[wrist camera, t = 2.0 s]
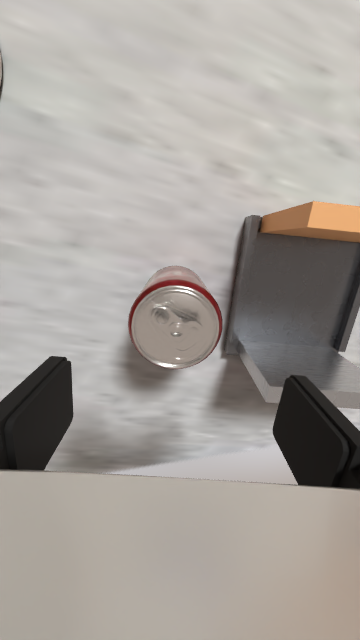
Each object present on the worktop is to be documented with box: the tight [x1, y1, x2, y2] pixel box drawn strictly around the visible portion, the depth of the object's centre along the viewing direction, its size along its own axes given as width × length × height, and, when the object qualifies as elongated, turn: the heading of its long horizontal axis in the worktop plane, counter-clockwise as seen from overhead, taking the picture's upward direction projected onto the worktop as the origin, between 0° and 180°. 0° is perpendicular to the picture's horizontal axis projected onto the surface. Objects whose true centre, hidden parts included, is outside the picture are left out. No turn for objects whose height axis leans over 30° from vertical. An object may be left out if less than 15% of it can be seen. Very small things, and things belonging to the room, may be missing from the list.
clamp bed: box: [224, 215, 360, 409], centre depth 24 cm, size 16×14×12 cm
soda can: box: [128, 266, 222, 369], centre depth 24 cm, size 7×7×12 cm
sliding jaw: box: [260, 201, 360, 243], centre depth 21 cm, size 2×11×10 cm, turn 84°
